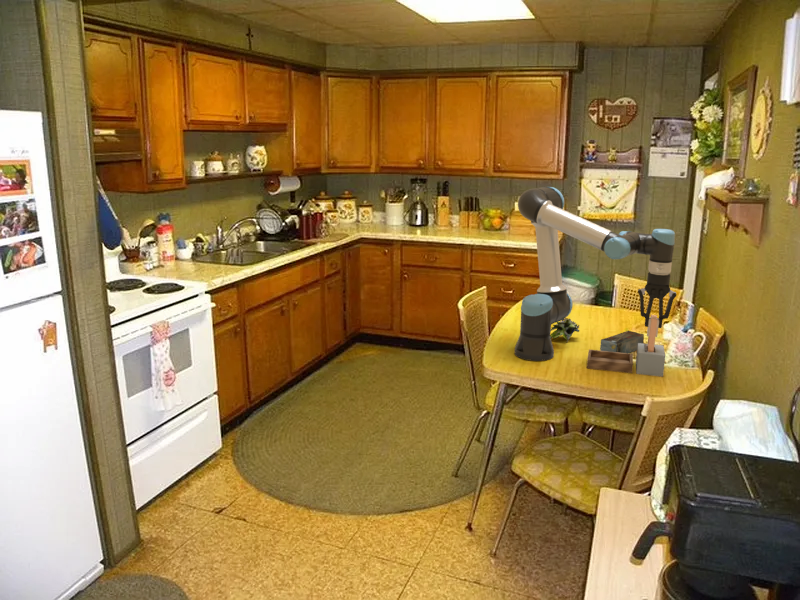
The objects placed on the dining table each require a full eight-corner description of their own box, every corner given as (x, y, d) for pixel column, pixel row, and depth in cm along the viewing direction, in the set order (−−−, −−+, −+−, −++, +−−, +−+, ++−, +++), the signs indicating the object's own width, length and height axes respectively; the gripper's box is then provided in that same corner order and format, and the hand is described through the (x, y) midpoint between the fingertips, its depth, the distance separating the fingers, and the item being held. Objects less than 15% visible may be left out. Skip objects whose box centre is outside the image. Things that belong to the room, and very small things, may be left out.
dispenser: (636, 373, 235) (638, 351, 233) (635, 362, 246) (637, 341, 244) (663, 376, 232) (665, 354, 230) (661, 365, 243) (663, 343, 241)
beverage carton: (598, 353, 258) (599, 337, 256) (626, 344, 269) (628, 328, 267) (615, 358, 251) (617, 342, 250) (644, 349, 263) (645, 333, 261)
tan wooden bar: (647, 358, 236) (651, 319, 232) (646, 353, 241) (650, 314, 237) (652, 359, 235) (657, 319, 231) (652, 353, 240) (656, 315, 237)
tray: (586, 368, 240) (587, 359, 239) (588, 357, 251) (588, 349, 250) (632, 373, 235) (633, 364, 235) (631, 362, 246) (632, 353, 246)
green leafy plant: (563, 349, 278) (580, 326, 277) (570, 353, 267) (587, 329, 266) (542, 334, 277) (559, 311, 277) (548, 337, 266) (565, 313, 266)
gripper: (637, 273, 229) (630, 336, 235) (683, 276, 224) (674, 341, 230) (636, 269, 236) (630, 330, 242) (681, 272, 231) (673, 334, 237)
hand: (651, 335), depth 236 cm, fingers closed on tan wooden bar, 2 cm apart
